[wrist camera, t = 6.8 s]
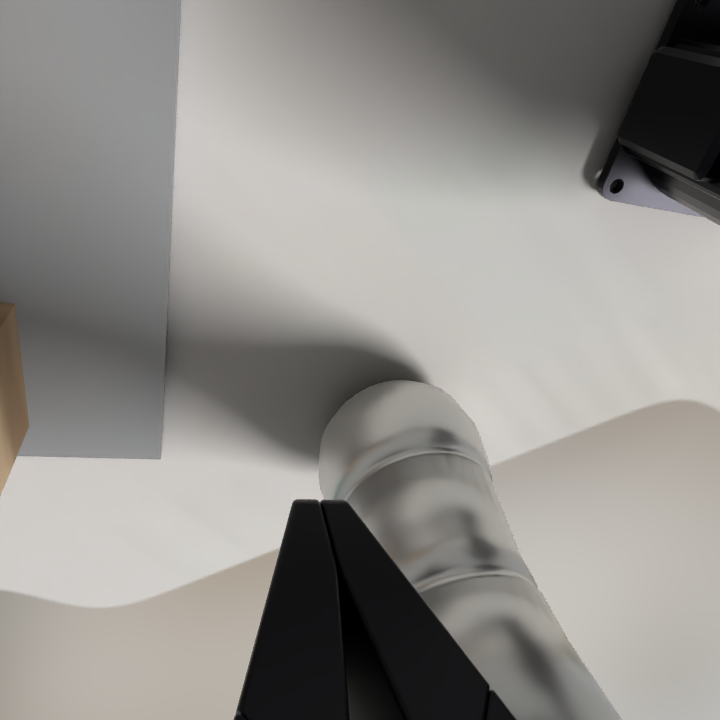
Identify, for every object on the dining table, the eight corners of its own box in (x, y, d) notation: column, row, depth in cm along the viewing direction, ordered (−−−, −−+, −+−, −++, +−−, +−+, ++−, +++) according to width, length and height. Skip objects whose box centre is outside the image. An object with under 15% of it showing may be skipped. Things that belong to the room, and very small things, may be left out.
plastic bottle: (297, 476, 25) (421, 1378, 9) (328, 349, 22) (612, 1452, 6) (432, 480, 27) (730, 1240, 11) (481, 363, 24) (1020, 1232, 8)
